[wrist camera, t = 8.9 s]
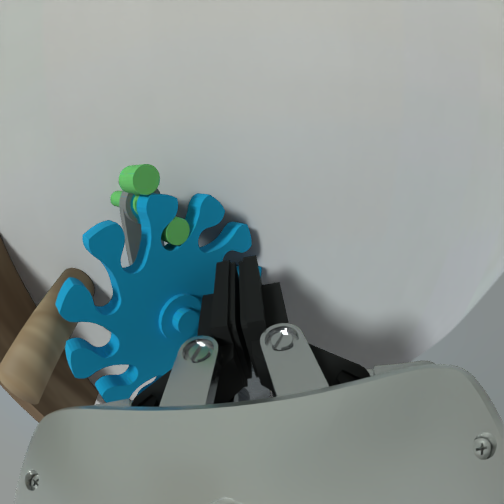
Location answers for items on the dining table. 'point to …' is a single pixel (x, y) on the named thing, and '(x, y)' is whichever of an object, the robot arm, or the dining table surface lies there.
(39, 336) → the dowel pin
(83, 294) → the gear
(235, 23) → the dining table surface
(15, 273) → the brown wooden plank
